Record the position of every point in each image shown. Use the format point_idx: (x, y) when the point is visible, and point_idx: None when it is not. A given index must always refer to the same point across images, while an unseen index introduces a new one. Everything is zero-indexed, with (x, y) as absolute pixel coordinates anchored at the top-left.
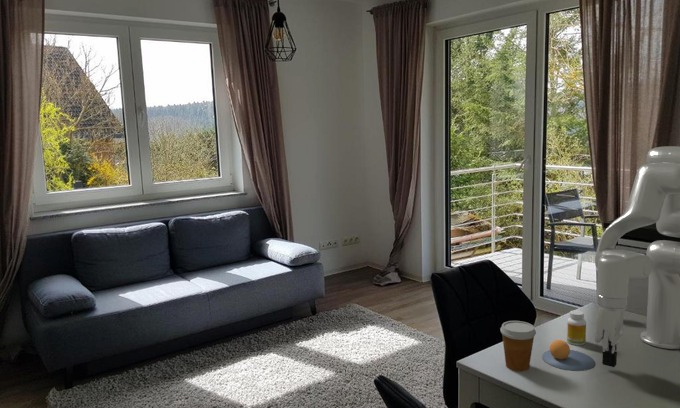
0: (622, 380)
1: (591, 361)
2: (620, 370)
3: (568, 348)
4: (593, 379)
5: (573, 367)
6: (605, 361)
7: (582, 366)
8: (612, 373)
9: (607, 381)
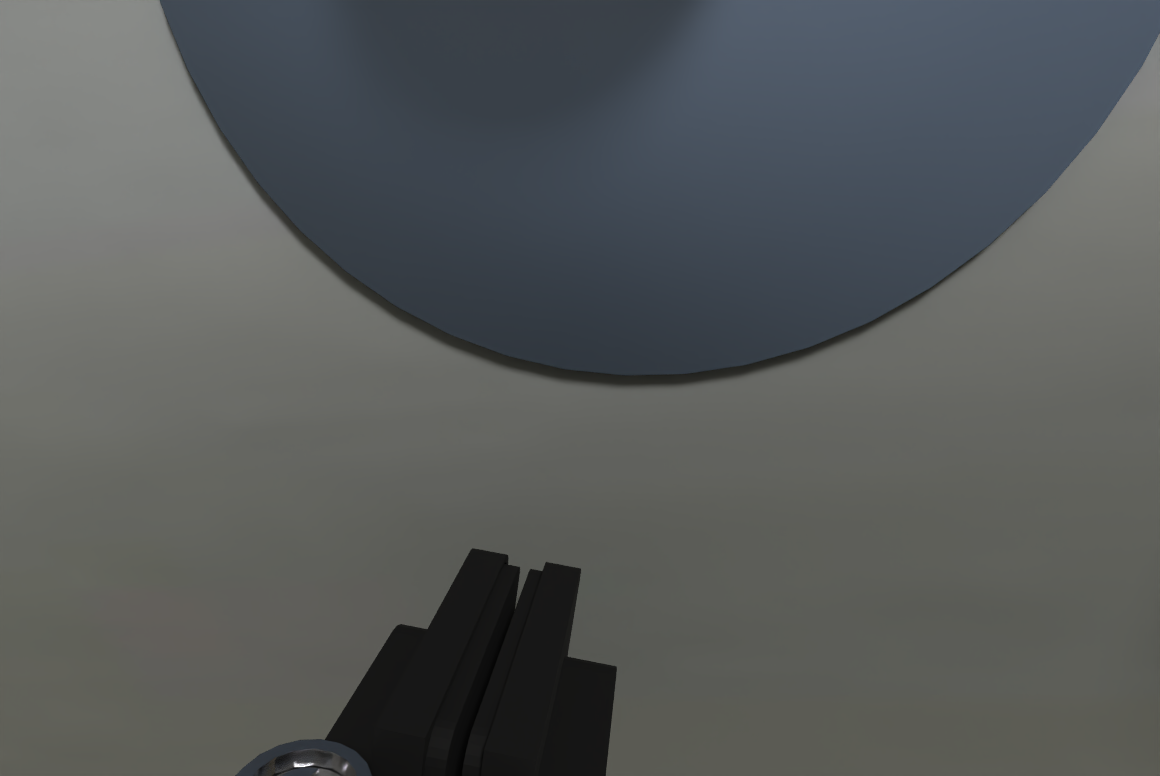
0: None
1: (721, 316)
2: None
3: None
4: (76, 410)
5: (285, 42)
6: (396, 640)
7: (416, 192)
8: None
9: (133, 586)
